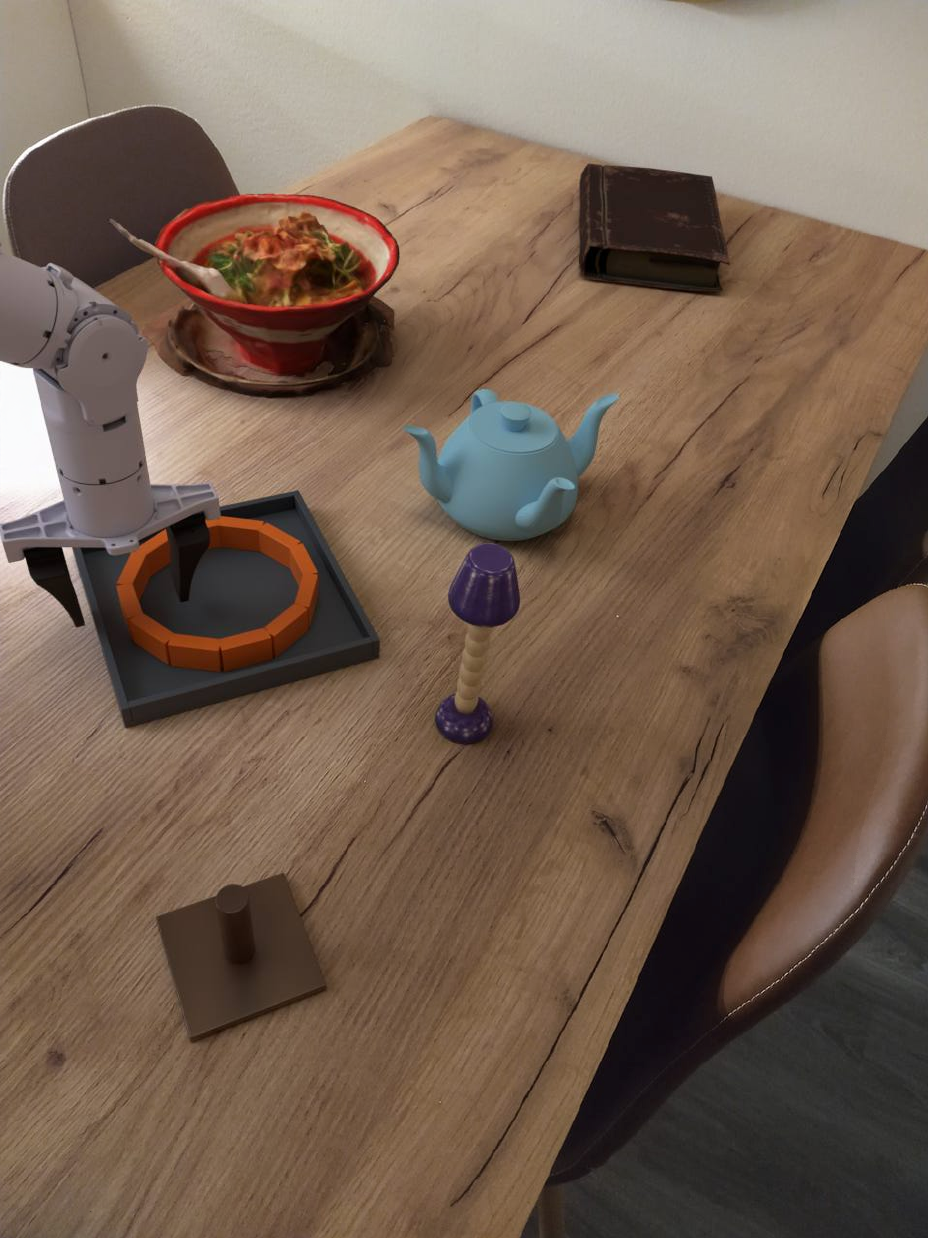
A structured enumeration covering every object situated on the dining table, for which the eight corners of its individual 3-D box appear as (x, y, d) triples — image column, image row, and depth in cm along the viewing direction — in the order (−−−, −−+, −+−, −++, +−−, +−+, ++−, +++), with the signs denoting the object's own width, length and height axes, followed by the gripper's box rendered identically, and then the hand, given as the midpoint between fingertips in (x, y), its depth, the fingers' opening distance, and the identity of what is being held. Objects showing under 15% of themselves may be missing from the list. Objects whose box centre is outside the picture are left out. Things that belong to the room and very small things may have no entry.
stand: (190, 1043, 57) (177, 990, 52) (156, 921, 62) (141, 863, 57) (326, 989, 60) (325, 935, 55) (284, 877, 65) (279, 818, 60)
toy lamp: (509, 720, 75) (541, 551, 64) (476, 761, 72) (502, 592, 61) (455, 690, 77) (476, 520, 65) (420, 730, 74) (435, 558, 62)
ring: (148, 692, 74) (144, 670, 72) (106, 562, 83) (101, 540, 81) (342, 640, 79) (342, 619, 77) (282, 523, 88) (281, 501, 86)
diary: (576, 279, 125) (583, 240, 122) (576, 196, 143) (582, 159, 139) (726, 298, 125) (738, 259, 122) (708, 212, 143) (718, 176, 140)
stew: (130, 424, 97) (102, 263, 86) (134, 298, 113) (111, 149, 102) (421, 410, 103) (431, 258, 91) (384, 293, 119) (389, 151, 107)
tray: (125, 728, 72) (120, 710, 70) (74, 556, 84) (69, 537, 82) (379, 657, 79) (380, 639, 77) (299, 507, 90) (298, 489, 89)
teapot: (464, 439, 100) (473, 345, 93) (609, 487, 96) (630, 394, 89) (396, 523, 90) (400, 426, 83) (555, 580, 86) (574, 483, 79)
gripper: (-8, 518, 62) (38, 667, 72) (225, 472, 68) (239, 617, 77) (-23, 452, 67) (22, 601, 76) (197, 414, 72) (214, 558, 82)
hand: (130, 605), depth 77 cm, fingers open, 7 cm apart
